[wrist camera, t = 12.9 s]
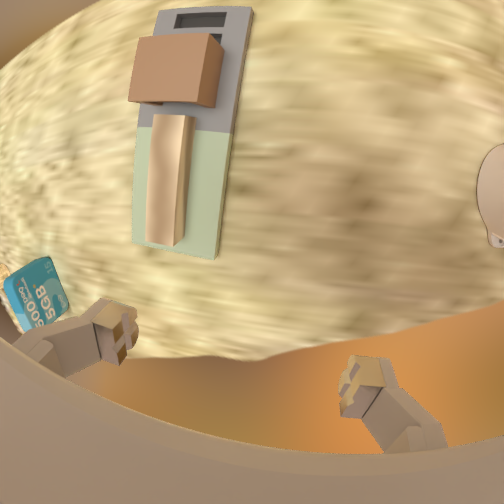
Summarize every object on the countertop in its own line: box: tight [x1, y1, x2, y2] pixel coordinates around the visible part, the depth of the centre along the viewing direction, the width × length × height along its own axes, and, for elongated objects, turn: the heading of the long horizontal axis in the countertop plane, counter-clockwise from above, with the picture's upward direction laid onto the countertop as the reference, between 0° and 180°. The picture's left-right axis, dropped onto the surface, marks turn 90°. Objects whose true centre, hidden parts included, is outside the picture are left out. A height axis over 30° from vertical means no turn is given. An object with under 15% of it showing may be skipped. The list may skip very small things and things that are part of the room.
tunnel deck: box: [128, 6, 254, 260], centre depth 31 cm, size 13×35×9 cm, turn 172°
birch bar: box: [145, 114, 197, 247], centre depth 34 cm, size 4×16×4 cm, turn 172°
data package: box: [3, 257, 68, 332], centre depth 44 cm, size 12×4×12 cm, turn 11°
